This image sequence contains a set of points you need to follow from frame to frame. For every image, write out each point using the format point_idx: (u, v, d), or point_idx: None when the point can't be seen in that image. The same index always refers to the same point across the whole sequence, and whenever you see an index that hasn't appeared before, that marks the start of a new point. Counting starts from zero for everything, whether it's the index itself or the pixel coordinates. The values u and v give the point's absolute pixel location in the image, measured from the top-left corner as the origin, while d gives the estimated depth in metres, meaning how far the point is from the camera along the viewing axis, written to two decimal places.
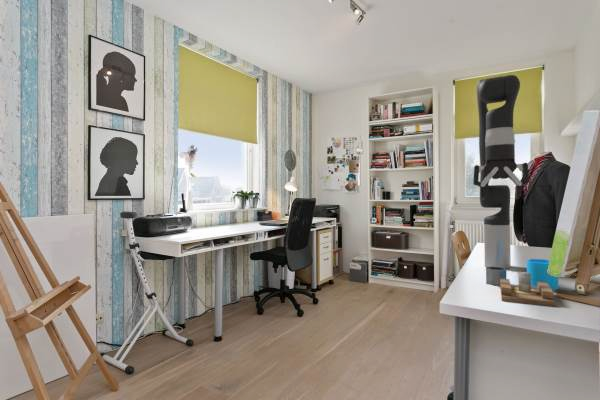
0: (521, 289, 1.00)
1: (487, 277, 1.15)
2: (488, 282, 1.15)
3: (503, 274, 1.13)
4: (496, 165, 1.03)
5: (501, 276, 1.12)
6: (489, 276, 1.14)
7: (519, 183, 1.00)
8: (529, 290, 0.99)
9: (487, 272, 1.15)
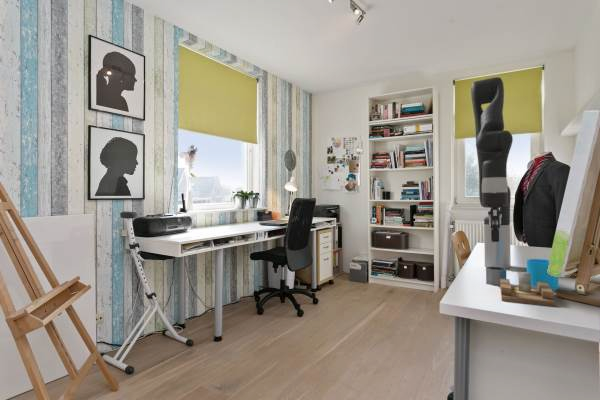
0: (521, 289, 1.00)
1: (487, 277, 1.15)
2: (488, 282, 1.15)
3: (503, 274, 1.13)
4: None
5: (501, 276, 1.12)
6: (489, 276, 1.14)
7: None
8: (529, 290, 0.99)
9: (487, 272, 1.15)
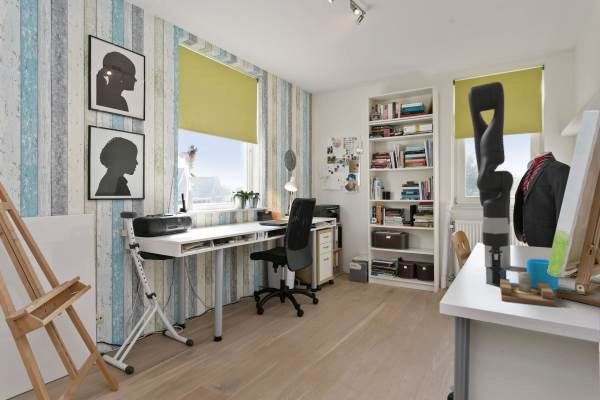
0: (521, 289, 1.00)
1: (487, 277, 1.15)
2: (488, 282, 1.15)
3: (503, 274, 1.13)
4: None
5: (501, 276, 1.12)
6: (489, 276, 1.14)
7: None
8: (529, 290, 0.99)
9: (487, 272, 1.15)
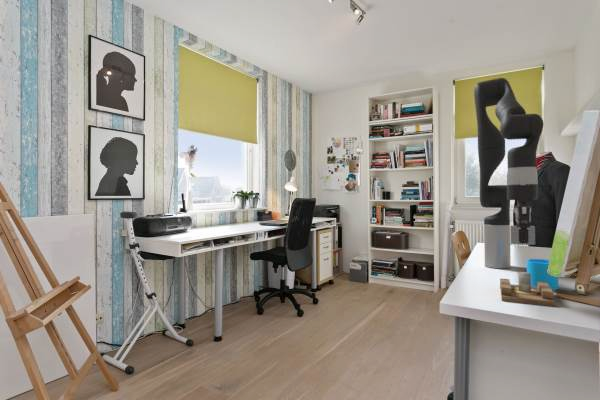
0: (521, 289, 1.00)
1: (512, 236, 1.00)
2: (514, 242, 1.00)
3: (531, 232, 0.98)
4: None
5: (530, 234, 0.98)
6: (515, 235, 1.00)
7: None
8: (529, 290, 0.99)
9: (512, 230, 1.00)
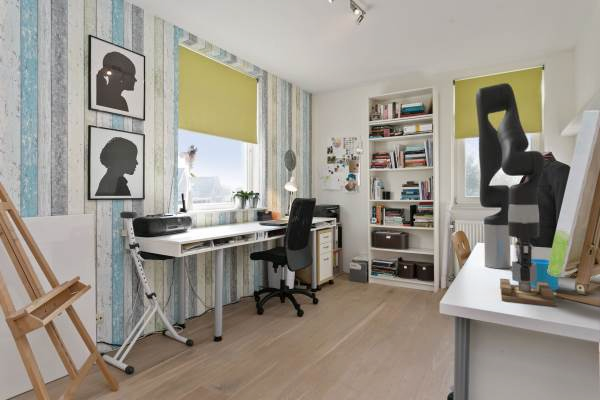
0: (521, 289, 1.00)
1: (514, 273, 1.00)
2: (515, 279, 1.00)
3: (533, 269, 0.98)
4: None
5: (531, 272, 0.98)
6: (516, 272, 1.00)
7: (528, 261, 1.03)
8: (529, 290, 0.99)
9: (514, 267, 1.00)
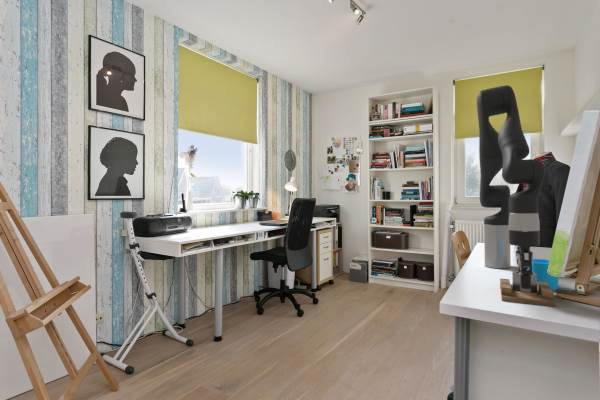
0: None
1: (514, 283, 1.01)
2: (515, 289, 1.00)
3: (533, 280, 0.98)
4: None
5: (532, 283, 0.98)
6: (517, 282, 1.00)
7: None
8: None
9: (514, 278, 1.01)
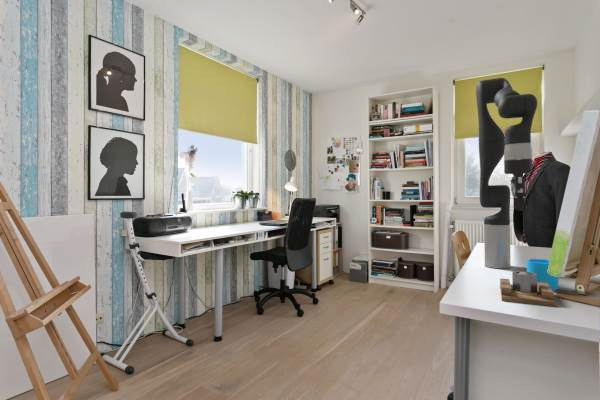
0: None
1: (514, 283, 1.01)
2: (515, 289, 1.00)
3: (533, 280, 0.98)
4: None
5: (532, 283, 0.98)
6: (517, 282, 1.00)
7: None
8: None
9: (514, 278, 1.01)
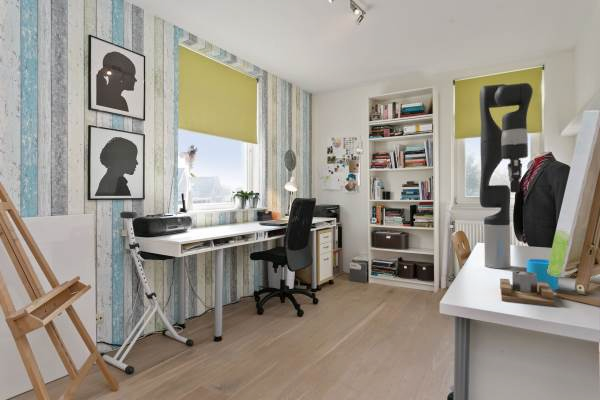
0: None
1: (514, 283, 1.01)
2: (515, 289, 1.00)
3: (533, 280, 0.98)
4: None
5: (532, 283, 0.98)
6: (517, 282, 1.00)
7: None
8: None
9: (514, 278, 1.01)
